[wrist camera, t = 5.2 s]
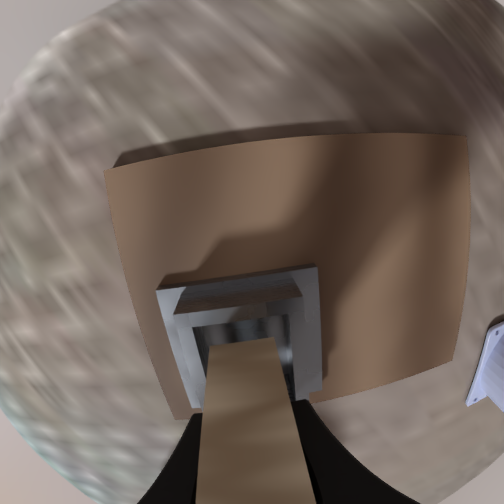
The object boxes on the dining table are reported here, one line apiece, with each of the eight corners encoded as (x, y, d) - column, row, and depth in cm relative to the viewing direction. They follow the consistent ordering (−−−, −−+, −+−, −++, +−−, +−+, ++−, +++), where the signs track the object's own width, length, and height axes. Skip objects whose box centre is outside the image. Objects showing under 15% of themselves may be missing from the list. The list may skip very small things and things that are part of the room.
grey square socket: (313, 262, 13) (331, 283, 11) (319, 383, 15) (332, 415, 13) (158, 285, 13) (143, 310, 11) (193, 401, 15) (188, 434, 12)
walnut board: (457, 136, 13) (466, 135, 12) (446, 354, 16) (451, 360, 16) (110, 170, 12) (103, 170, 12) (176, 410, 16) (175, 419, 15)
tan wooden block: (273, 337, 11) (316, 504, 4) (282, 410, 12) (313, 549, 5) (210, 345, 11) (194, 516, 4) (229, 417, 12) (232, 559, 5)
